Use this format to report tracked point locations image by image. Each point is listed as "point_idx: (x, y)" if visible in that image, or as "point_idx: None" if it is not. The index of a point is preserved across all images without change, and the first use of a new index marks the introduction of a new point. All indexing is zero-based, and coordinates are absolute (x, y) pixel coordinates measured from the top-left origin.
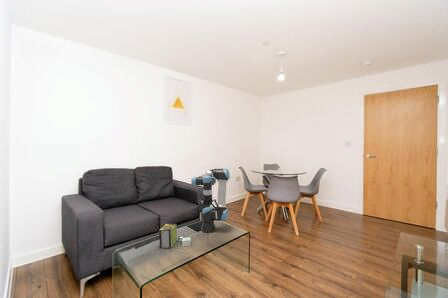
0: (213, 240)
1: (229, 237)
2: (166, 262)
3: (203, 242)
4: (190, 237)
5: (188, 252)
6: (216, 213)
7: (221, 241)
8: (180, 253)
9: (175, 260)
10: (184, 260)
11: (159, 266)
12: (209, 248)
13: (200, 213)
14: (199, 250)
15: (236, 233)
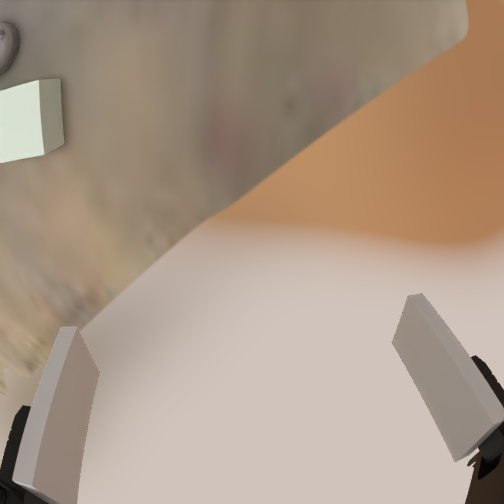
0: (267, 63)
1: (406, 54)
2: (10, 324)
3: (169, 87)
4: (38, 89)
5: (72, 247)
6: (441, 421)
7: (333, 104)
8: (30, 252)
9: (37, 317)
10: (80, 326)
11: (3, 344)
12: (217, 210)
13: (65, 495)
14: (141, 230)
15: (459, 14)
